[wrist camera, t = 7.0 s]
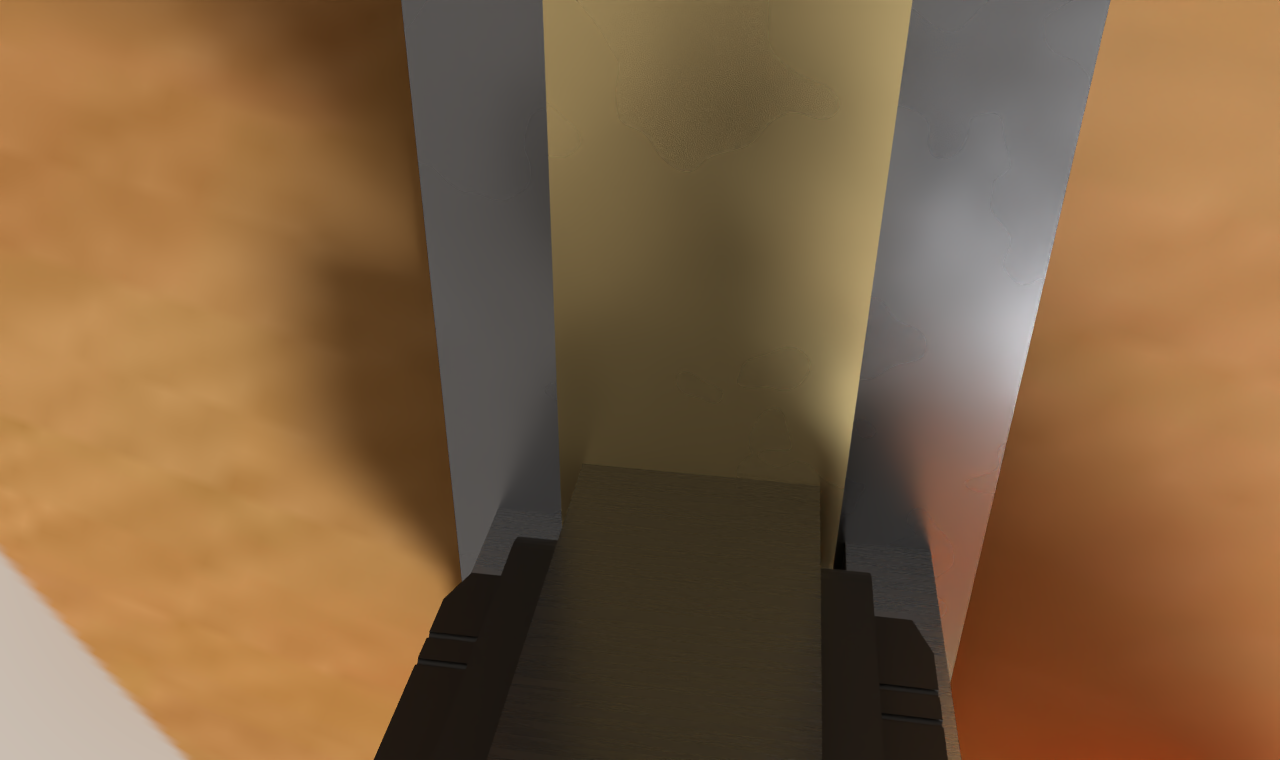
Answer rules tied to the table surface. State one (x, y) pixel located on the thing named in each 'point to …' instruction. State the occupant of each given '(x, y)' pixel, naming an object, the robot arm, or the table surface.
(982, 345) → the rail
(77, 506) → the table surface
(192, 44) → the table surface
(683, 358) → the block
